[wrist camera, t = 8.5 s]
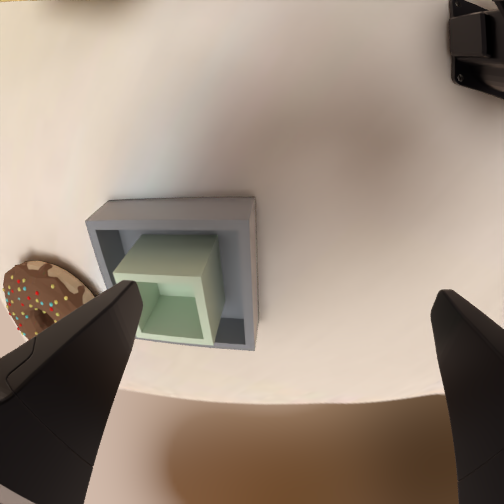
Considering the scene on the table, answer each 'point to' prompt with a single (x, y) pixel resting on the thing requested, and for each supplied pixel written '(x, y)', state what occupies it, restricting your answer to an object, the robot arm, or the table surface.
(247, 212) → the big crate
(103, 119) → the table surface
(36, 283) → the donut
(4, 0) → the flower pot
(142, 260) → the small crate
